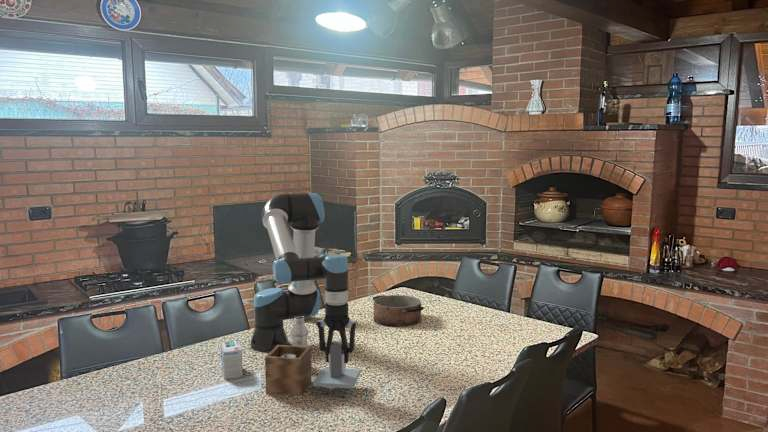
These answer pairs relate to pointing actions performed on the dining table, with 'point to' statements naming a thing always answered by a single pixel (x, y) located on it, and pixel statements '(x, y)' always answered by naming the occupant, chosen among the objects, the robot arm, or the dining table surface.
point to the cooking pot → (397, 310)
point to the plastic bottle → (299, 332)
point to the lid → (336, 371)
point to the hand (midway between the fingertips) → (337, 371)
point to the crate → (288, 370)
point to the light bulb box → (231, 360)
